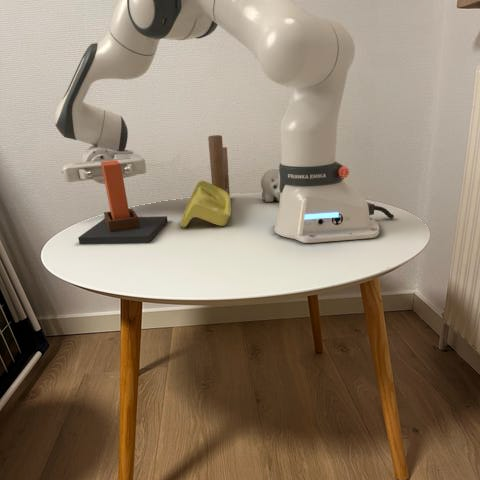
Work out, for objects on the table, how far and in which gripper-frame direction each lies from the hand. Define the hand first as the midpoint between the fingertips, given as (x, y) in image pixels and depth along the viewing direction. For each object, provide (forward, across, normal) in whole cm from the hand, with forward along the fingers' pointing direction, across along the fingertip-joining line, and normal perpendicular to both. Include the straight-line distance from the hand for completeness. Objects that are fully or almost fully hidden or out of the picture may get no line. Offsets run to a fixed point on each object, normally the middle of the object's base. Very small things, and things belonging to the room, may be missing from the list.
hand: (108, 173), depth 104 cm
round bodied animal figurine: (+4, +42, +12) cm, 44 cm away
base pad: (+10, +1, +12) cm, 16 cm away
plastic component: (+9, +22, +12) cm, 26 cm away
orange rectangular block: (+9, 0, +10) cm, 14 cm away
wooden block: (-4, +30, +12) cm, 32 cm away
